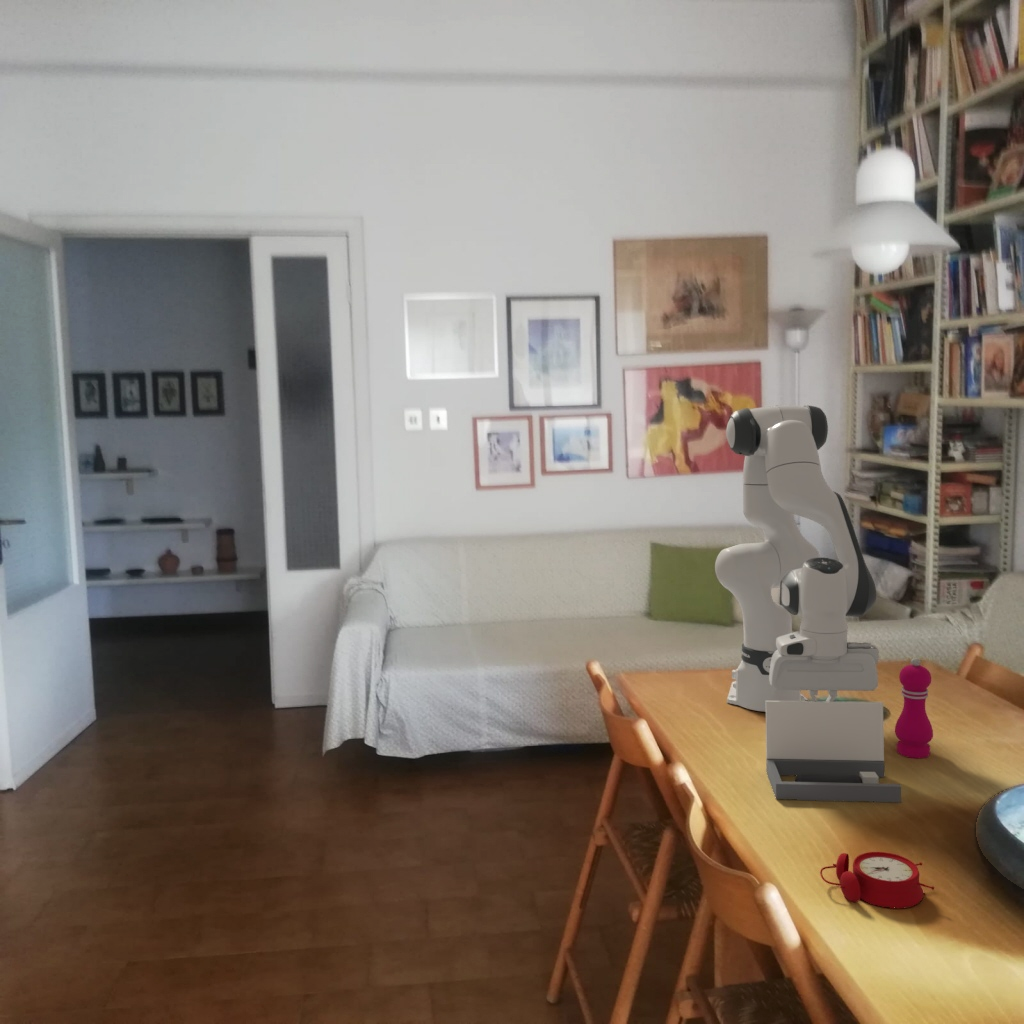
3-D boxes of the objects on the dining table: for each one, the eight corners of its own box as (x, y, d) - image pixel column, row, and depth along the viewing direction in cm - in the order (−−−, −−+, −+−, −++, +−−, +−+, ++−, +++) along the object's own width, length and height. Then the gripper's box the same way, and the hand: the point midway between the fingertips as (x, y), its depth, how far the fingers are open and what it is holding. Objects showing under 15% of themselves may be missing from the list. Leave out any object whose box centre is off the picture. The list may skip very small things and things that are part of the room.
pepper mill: (936, 760, 191) (939, 663, 188) (898, 758, 192) (900, 662, 189) (928, 747, 198) (930, 653, 195) (891, 745, 199) (893, 652, 196)
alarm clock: (940, 889, 136) (834, 862, 138) (929, 928, 137) (823, 900, 139) (921, 854, 146) (823, 829, 148) (911, 890, 147) (813, 865, 149)
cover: (766, 758, 186) (766, 757, 187) (883, 760, 183) (882, 759, 184) (766, 701, 186) (765, 700, 187) (882, 702, 183) (881, 701, 184)
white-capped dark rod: (795, 789, 179) (796, 776, 179) (793, 783, 181) (793, 770, 181) (878, 790, 177) (878, 777, 177) (874, 785, 180) (874, 771, 180)
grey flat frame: (766, 772, 187) (766, 757, 187) (882, 774, 184) (883, 760, 184) (775, 799, 175) (776, 784, 174) (900, 802, 172) (901, 786, 172)
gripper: (874, 638, 187) (873, 706, 188) (767, 638, 189) (767, 705, 191) (883, 647, 180) (881, 717, 182) (772, 646, 183) (772, 716, 185)
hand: (822, 711), depth 187 cm, fingers closed, pressing on cover
